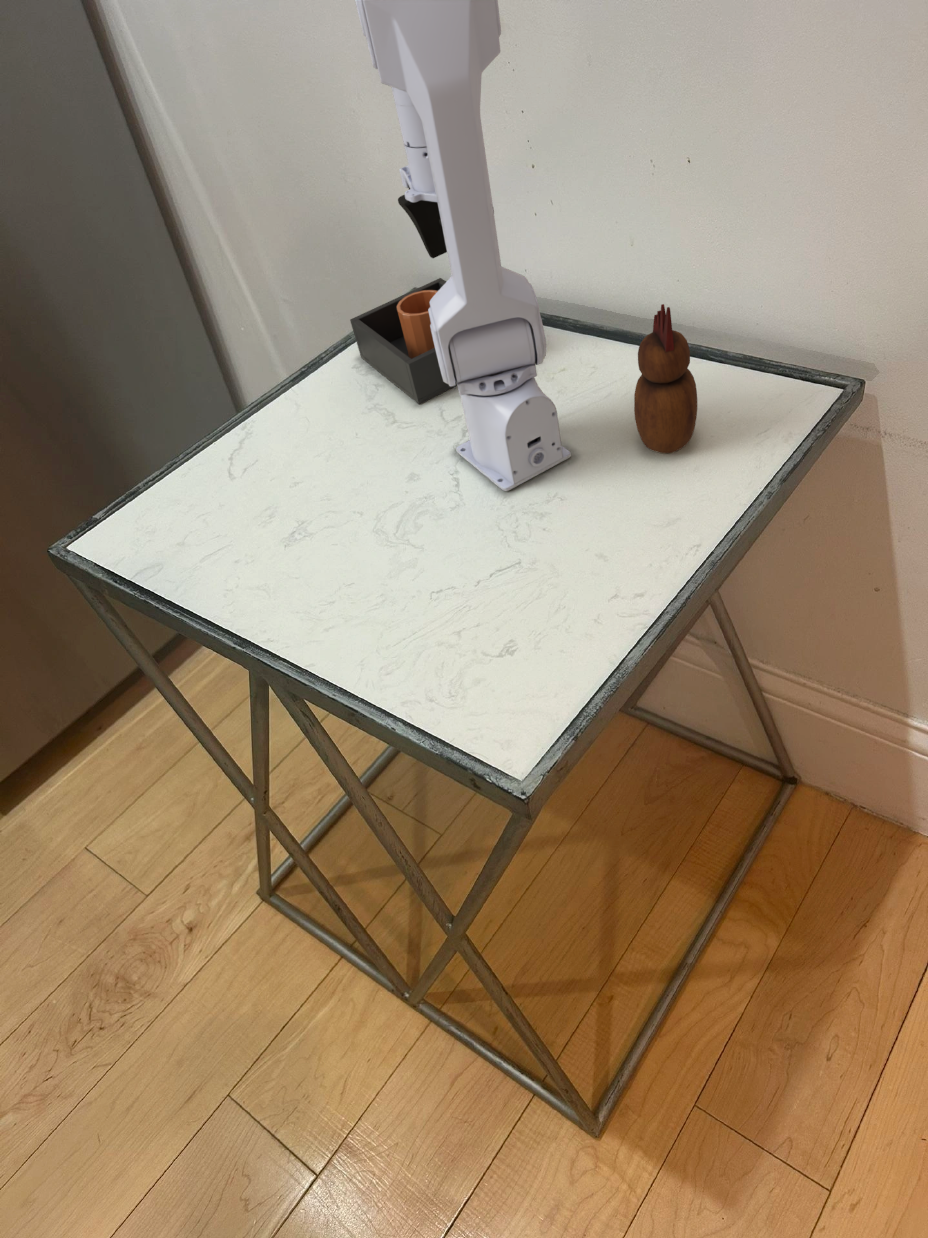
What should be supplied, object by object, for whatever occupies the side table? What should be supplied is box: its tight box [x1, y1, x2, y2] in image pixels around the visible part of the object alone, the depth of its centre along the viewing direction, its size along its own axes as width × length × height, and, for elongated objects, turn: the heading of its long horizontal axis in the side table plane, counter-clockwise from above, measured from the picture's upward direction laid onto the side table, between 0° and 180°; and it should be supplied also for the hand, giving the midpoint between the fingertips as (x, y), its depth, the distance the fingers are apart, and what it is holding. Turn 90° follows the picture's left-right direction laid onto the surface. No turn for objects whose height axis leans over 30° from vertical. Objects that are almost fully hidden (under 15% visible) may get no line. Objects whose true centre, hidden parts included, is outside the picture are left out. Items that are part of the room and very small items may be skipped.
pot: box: [397, 290, 438, 359], centre depth 108 cm, size 6×6×6 cm
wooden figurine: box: [633, 303, 698, 454], centre depth 86 cm, size 7×6×15 cm
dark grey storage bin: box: [349, 277, 457, 405], centre depth 109 cm, size 15×13×5 cm
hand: (456, 263), depth 105 cm, fingers open, 7 cm apart
